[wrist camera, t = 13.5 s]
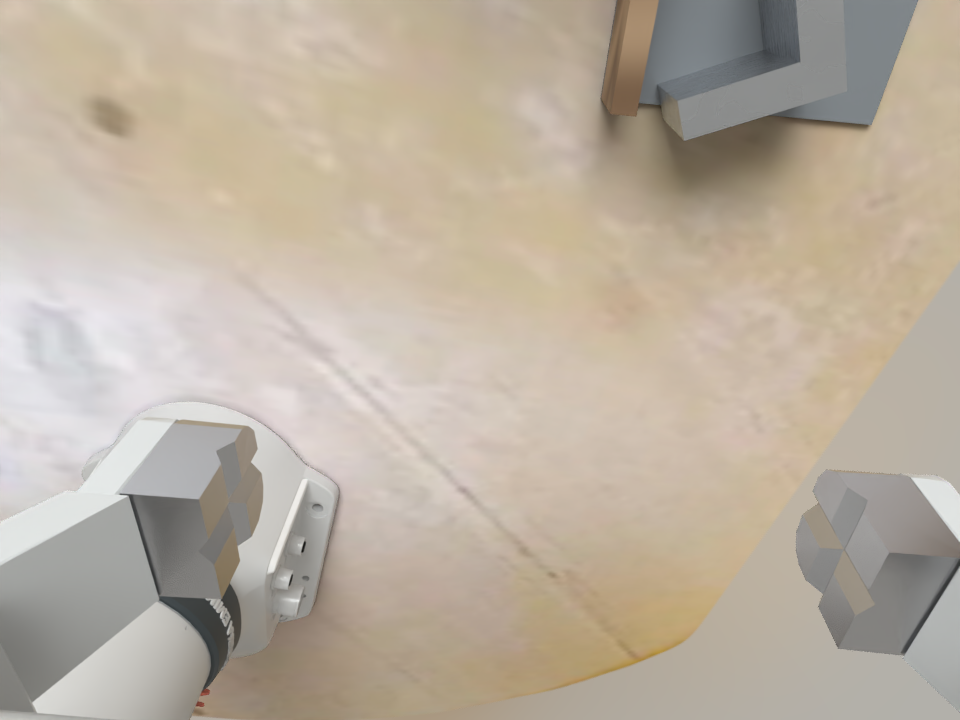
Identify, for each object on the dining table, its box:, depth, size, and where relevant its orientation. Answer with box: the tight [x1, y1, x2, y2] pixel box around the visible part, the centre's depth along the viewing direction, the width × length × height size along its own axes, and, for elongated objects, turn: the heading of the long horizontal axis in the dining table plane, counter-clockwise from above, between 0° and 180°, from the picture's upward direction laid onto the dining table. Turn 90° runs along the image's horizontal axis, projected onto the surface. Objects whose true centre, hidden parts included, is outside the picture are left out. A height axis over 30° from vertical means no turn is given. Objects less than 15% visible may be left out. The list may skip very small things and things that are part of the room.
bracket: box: [657, 0, 847, 141], centre depth 30 cm, size 7×7×5 cm
